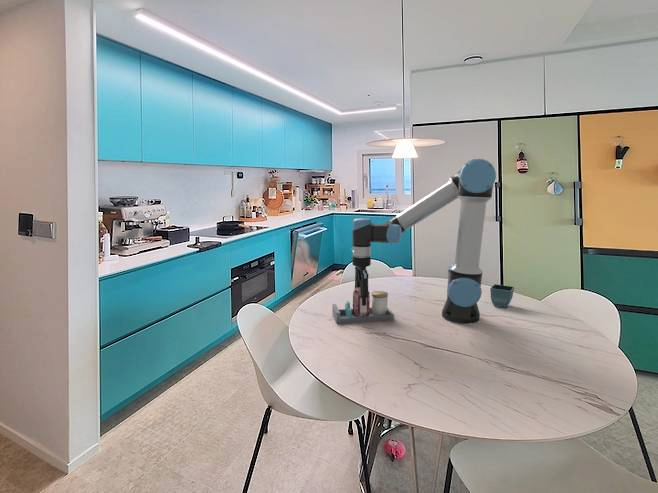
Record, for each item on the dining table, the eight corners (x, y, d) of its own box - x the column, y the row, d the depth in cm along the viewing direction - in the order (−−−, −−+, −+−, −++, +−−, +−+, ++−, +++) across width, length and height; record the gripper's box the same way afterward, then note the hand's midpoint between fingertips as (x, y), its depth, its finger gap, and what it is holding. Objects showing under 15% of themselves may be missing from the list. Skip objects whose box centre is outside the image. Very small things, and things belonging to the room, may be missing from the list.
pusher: (347, 313, 159) (347, 298, 158) (351, 321, 151) (351, 305, 149) (345, 314, 159) (345, 298, 157) (349, 321, 150) (349, 305, 149)
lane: (385, 312, 163) (386, 301, 162) (393, 321, 152) (394, 309, 151) (332, 315, 159) (332, 304, 158) (336, 324, 148) (336, 313, 148)
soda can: (368, 319, 151) (368, 291, 149) (351, 318, 152) (351, 290, 150) (370, 313, 158) (370, 286, 156) (353, 312, 159) (354, 285, 157)
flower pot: (492, 301, 176) (494, 283, 174) (513, 305, 171) (514, 286, 169) (488, 306, 169) (489, 288, 167) (509, 310, 164) (511, 291, 162)
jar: (388, 314, 159) (389, 291, 157) (385, 319, 152) (386, 296, 151) (373, 312, 161) (373, 290, 159) (369, 317, 155) (370, 294, 153)
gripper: (347, 251, 160) (347, 302, 164) (358, 261, 141) (357, 318, 144) (364, 251, 161) (364, 301, 165) (377, 260, 142) (376, 317, 146)
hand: (361, 309), depth 155 cm, fingers closed on soda can, 7 cm apart
